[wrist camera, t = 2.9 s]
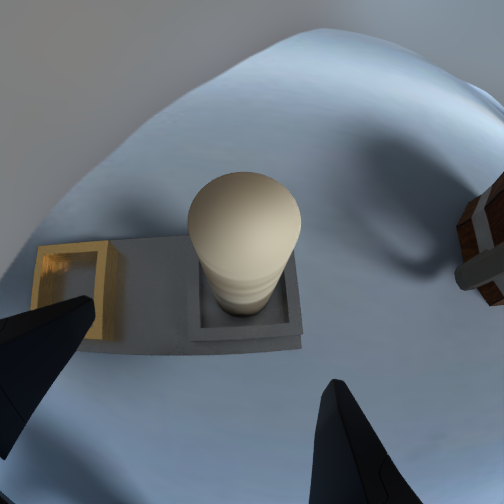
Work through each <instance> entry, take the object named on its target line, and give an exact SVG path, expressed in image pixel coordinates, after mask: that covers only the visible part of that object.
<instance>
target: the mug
mask: <svg viewBox="0 0 504 504" xmlns="http://www.w3.org/2000/svg"><path fill="white" fill-rule="evenodd" d="M456 227H457V232H458V236H459V241H460V246H461V251H462V256H463V262H464V263H463V264H462V265H460V266H459V267H457V268H456V271H455V273H454V274H455V279H456V283H457V284H458V286H459V287H460V289H461V290H465V291H466V290H471V289H474V288H477V289H478V290H479V292H480V293H481V295H482V296H483V297H484V299H485V300H486V302H487V303H488V305H489V306H497V305H504V172H503V173H502V174H501V176H500V177H499V178H498V179H497V180H496V181H495V183H494V184H493V185H492V186H491V187H490V188H488V189H487V190H486V191H485V192H484V193H483V194H482V195H480V196H478V197H477V198H475V199H473V200H472V201H470V202H469V203H468V205H467V207H466V209H465V211H464V213H463V215H462V217H461V219H460V221H459V223H458V225H457V226H456Z"/></svg>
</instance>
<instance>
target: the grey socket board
mask: <svg viewBox="0 0 504 504" xmlns="http://www.w3.org/2000/svg"><path fill="white" fill-rule="evenodd" d="M82 295H87V296H89V297H91V298H92V299H93V300H94V304H95V313H96V317H95V320H94V322H93V324H92V325H91V327H90V329H89V330H88V332H87V334H86V335H85V337H84V339H83V340H82V342H81V344H80V346H79V347H78V349H77V351H87V352H99V353H113V354H132V355H223V354H243V353H258V352H270V351H281V350H291V349H300V348H302V346H301V336H300V335H301V334H303V328H302V318H301V308H300V299H299V290H298V282H297V273H296V265H295V257H294V249H293V251H292V253H291V255H290V257H289V259H288V261H287V263H286V265H285V267H284V270H283V272H282V274H281V276H280V278H279V280H278V282H277V284H276V286H275V288H274V290H273V292H272V294H271V296H270V298H269V300H268V302H267V304H266V306H265V307H264V308H263V309H262V310H261V311H260V312H259V313H257V314H256V315H254V316H251V317H246V318H238V317H234V316H231V315H229V314H227V313H226V312H224V311H223V310H222V309H221V308H220V306H219V305H218V303H217V301H216V299H215V297H214V294H213V292H212V290H211V287H210V285H209V283H208V280H207V278H206V275H205V273H204V270H203V268H202V266H201V263H200V261H199V258H198V256H197V253H196V251H195V248H194V246H193V243H192V241H191V238H190V235H180V236H165V237H149V238H135V239H121V240H105V241H92V242H80V243H68V244H57V245H45V246H39V247H38V252H37V258H36V264H35V271H34V278H33V287H32V296H31V308H30V311H31V310H34V309H37V308H41V307H44V306H48V305H51V304H54V303H58V302H61V301H65V300H68V299H71V298H75V297H78V296H82Z"/></svg>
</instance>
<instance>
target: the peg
mask: <svg viewBox="0 0 504 504" xmlns="http://www.w3.org/2000/svg"><path fill="white" fill-rule="evenodd" d="M300 228H301V217H300V211H299V208H298V205H297V203H296V201H295V199H294V198H293V196H292V195H291V194H290V192H289V191H288V190H287V189H286V188H285V187H284V186H283V185H281V184H280V183H279V182H277V181H276V180H274V179H272V178H270V177H267V176H265V175H262V174H258V173H253V172H235V173H230V174H226V175H223V176H220V177H218V178H216V179H214V180H212V181H211V182H209V183H208V184H207V185H205V186H204V187H203V188H202V189H201V190H200V191H199V192H198V194H197V195H196V197H195V198H194V200H193V202H192V204H191V206H190V209H189V214H188V231H189V235H190V238H191V241H192V243H193V246H194V248H195V251H196V253H197V256H198V258H199V261H200V263H201V266H202V268H203V270H204V273H205V275H206V278H207V280H208V283H209V285H210V287H211V290H212V292H213V294H214V297H215V299H216V301H217V303H218V305H219V306H220V308H221V309H222V310H223V311H224V312H226V313H227V314H229V315H231V316H234V317H238V318H246V317H251V316H254V315H256V314H257V313H259V312H260V311H261V310H262V309H263V308H264V307H265V306H266V304H267V302H268V300H269V298H270V296H271V294H272V292H273V290H274V288H275V286H276V284H277V282H278V280H279V278H280V276H281V274H282V272H283V270H284V267H285V265H286V263H287V261H288V259H289V257H290V255H291V253H292V251H293V249H294V246H295V244H296V242H297V240H298V237H299V234H300Z"/></svg>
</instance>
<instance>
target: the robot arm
mask: <svg viewBox="0 0 504 504" xmlns="http://www.w3.org/2000/svg"><path fill="white" fill-rule="evenodd" d="M95 317H96V313H95V304H94V300H93V299H92V298H91V297H89V296H87V295H82V296H78V297H75V298H71V299H68V300H65V301H61V302H58V303H54V304H51V305H48V306H44V307H41V308H37V309H34V310H31V311H27V312H24V313H21V314H17V315H14V316H10V317H9V318H8V317H7V318H4V319H0V457H1V458H2V459H3V460H5V459H6V458H7V456H8V454H9V452H10V451H11V449H12V447H13V445H14V444H15V442H16V440H17V439H18V437H19V435H20V434H21V432H22V430H23V429H24V427H25V425H26V423H27V422H28V420H29V419H30V417H31V415H32V414H33V412H34V411H35V409H36V408H37V406H38V405H39V403H40V402H41V400H42V399H43V397H44V396H45V394H46V393H47V391H48V390H49V388H50V387H51V385H52V384H53V382H54V381H55V380H56V378H57V377H58V375H59V374H60V372H61V371H62V370H63V368H64V367H65V365H66V364H67V363H68V361H69V360H70V359H71V357H72V356H73V354H74V353H75V352H76V350H77V349H78V347H79V346H80V344H81V342H82V340H83V339H84V337H85V335H86V334H87V332H88V330H89V329H90V327H91V325H92V324H93V322H94V320H95ZM0 504H15V503H13V502H12V501H11V500H10V499H9V498H8V497H7V496H6V495H4V494H3V493H2V492H1V491H0ZM309 504H423V503H422V502H421V500H420V499H419V498H418V497H417V495H416V494H415V493H414V491H413V490H412V489H411V487H410V486H409V485H408V483H407V482H406V481H405V479H404V478H403V477H402V475H401V474H400V472H399V471H398V469H397V468H396V466H395V464H394V463H393V461H392V460H391V458H390V456H389V455H387V451H386V450H385V448H384V446H383V445H382V443H381V441H380V440H379V438H378V436H377V435H376V433H375V431H374V430H373V428H372V426H371V425H370V423H369V421H368V420H367V418H366V416H365V415H364V413H363V411H362V410H361V408H360V406H359V405H358V403H357V402H356V400H355V398H354V397H353V395H352V393H351V392H350V390H349V388H348V387H347V385H346V383H345V382H344V381H343V380H338V379H332V380H331V381H330V383H329V384H328V386H327V387H326V389H325V390H324V392H323V394H322V396H321V401H320V408H319V413H318V419H317V425H316V430H315V438H314V453H313V465H312V477H311V487H310V497H309Z"/></svg>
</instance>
